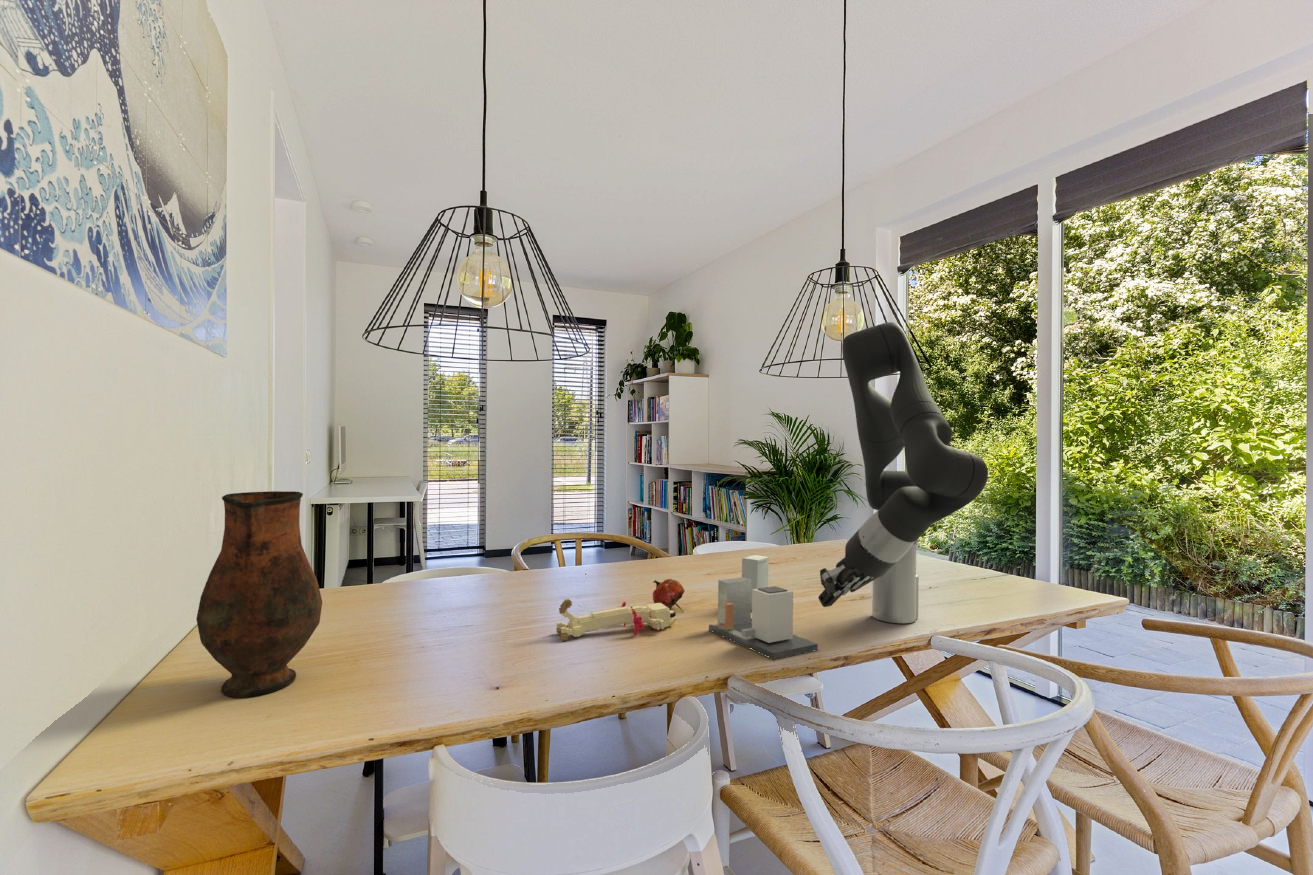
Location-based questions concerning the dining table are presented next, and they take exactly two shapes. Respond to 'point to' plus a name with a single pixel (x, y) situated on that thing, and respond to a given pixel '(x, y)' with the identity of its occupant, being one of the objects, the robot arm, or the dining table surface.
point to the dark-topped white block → (771, 614)
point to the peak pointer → (729, 616)
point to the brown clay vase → (259, 594)
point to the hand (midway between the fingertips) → (823, 602)
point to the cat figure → (614, 619)
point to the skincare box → (756, 571)
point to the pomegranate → (668, 592)
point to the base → (740, 596)
